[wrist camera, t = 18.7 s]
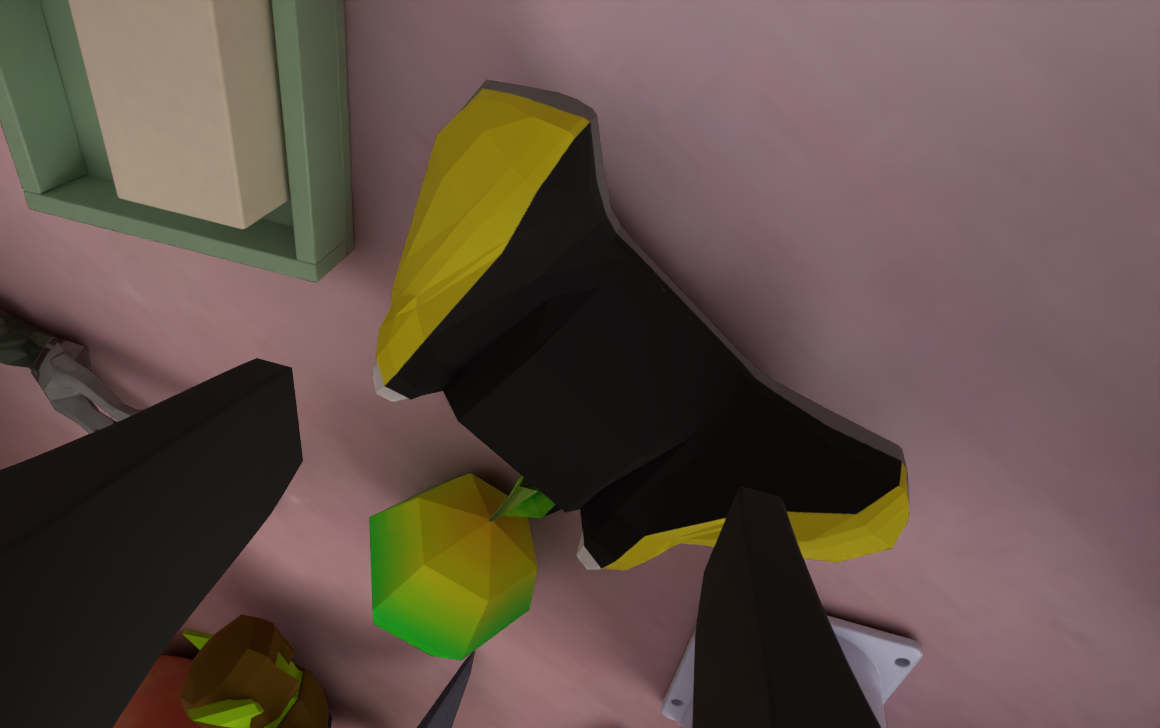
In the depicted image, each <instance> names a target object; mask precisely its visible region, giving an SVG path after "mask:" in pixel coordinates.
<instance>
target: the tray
mask: <svg viewBox="0 0 1160 728" xmlns="http://www.w3.org/2000/svg"><path fill="white" fill-rule="evenodd" d="M272 10H273V20H274V30H275V41H276V51H277V62H278V72H279V82H280V93H281V103H282V113H283V124H284V134H285V144H286V155H287V165H288V175H289V186H290V196H291V199H289V200H288V201H286V202H285V203H283V204H282V205H280V206H279V207H277V208H276V209H274V210H273V211H271V212H270V213H268V214H267V215H265V216H264V217H262V218H261V219H259V220H258V221H256V222H255V223H253V224H252V225H250V226H249V227H247V228H245V229H239V228H235V227H231V226H227V225H223V224H219V223H215V222H211V221H208V220H204V219H200V218H196V217H192V216H188V215H184V214H180V213H176V212H172V211H168V210H164V209H160V208H156V207H152V206H148V205H144V204H140V203H136V202H132V201H128V200H124V199H120V198H119V197H118V196H117V192H116V188H115V184H114V180H113V176H112V172H111V168H110V164H109V160H108V156H107V152H106V149H105V145H104V141H103V137H102V133H101V129H100V125H99V121H98V117H97V113H96V109H95V105H94V101H93V97H92V93H91V89H90V85H89V82H88V78H87V74H86V70H85V66H84V62H83V58H82V54H81V50H80V46H79V42H78V38H77V34H76V30H75V26H74V22H73V18H72V14H71V11H70V7H69V3H68V0H0V123H1V126H2V129H3V131H4V134H5V137H6V140H7V143H8V146H9V149H10V152H11V155H12V158H13V161H14V164H15V167H16V170H17V173H18V176H19V179H20V182H21V185H22V188H23V189H24V190H25V191H24V195H25V197H26V200H27V203H28V206H29V208H30V209H31V210H35V211H39V212H43V213H47V214H51V215H55V216H59V217H62V218H66V219H70V220H74V221H78V222H82V223H86V224H90V225H94V226H98V227H101V228H105V229H109V230H113V231H117V232H121V233H125V234H129V235H133V236H136V237H140V238H144V239H148V240H152V241H156V242H160V243H164V244H168V245H171V246H175V247H179V248H183V249H187V250H191V251H195V252H199V253H203V254H206V255H210V256H214V257H218V258H222V259H226V260H230V261H234V262H238V263H242V264H245V265H249V266H253V267H257V268H261V269H265V270H269V271H273V272H277V273H280V274H284V275H288V276H292V277H296V278H300V279H304V280H308V281H312V282H318V281H319V280H320V279H322V278H323V277H324V276H325V275H326V274H327V273H328V272H329V271H331V270H332V269H333V268H334V267H335V266H336V265H337V264H338V263H340V262H341V261H342V260H343V259H344V258H345V257H346V256H347V255H349V254H350V253H351V252H352V251H353V250H354V234H353V210H352V185H351V161H350V137H349V112H348V88H347V63H346V39H345V14H344V0H272Z"/></svg>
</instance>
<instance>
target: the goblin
mask: <svg viewBox="0 0 1160 728" xmlns="http://www.w3.org/2000/svg"><path fill="white" fill-rule="evenodd" d="M182 634H183V635H184V636H185V637H186V638H187V639H188V640H189V641H190V642H192V643H193V644H194V645H195V646H196V647H197V648H198V649H199V650H200V651H199V653H198V654H197V655H196V657H195V658H194V659H193V661H192V663H191V666H190V669H189V672H188V675H187V678H186V681H185V684H184V687H183V690H182V693H181V696H180V698H181V701H182V704H183V707H184V711H185V714H186V716H187V717H188V718H190V719H191V720H192V721H194V722H195V723H197V724H198V725H200V726H201V727H204V728H331V720H332V717H331V714H330V713H329V708H328V704H327V701H326V697H325V694H324V691H323V690H322V688H321V687H320V685H319V684H318V683H317V681H316V680H315V678H314V677H313V675H312V674H311V673H310V671H308V670H307V669H305V668H303V667H301V666H299V665H297V664H295V663H293V662H292V661H291V660H292V657H293V655H294V648H293V647H292V646H291V645H290V644H289V643H288V641H287V640H286V639H285V638H284V637H283V636H282V635H281V634H280V632H279V631H278V629H277V628H276V626H275V625H274V624H273V623H272V622H269V621H266V620H263V619H261V618H257V617H251V616H246V615H240V616H239V617H238V618H236V619H235V620H233V621H232V622H231V623H229V624H228V625H227V626H225V627H224V628H222V629H221V630H220V631H218V632H217V633H216V634H209V633H204V632H199V631H194V630H189V629H185V630H184V631H183V633H182ZM474 653H475V651H473V652H472V654H471V655H470V656H469V657H468V658H467V659H466V660H465V661H464V663H463V664H462V665H461V667H460V668H459V670H458V671H457V672H456V674H455V675H454V677H453V678H452V679H451V681H450V682H449V684H448V685H447V686H446V688H445V689H444V691H443V692H442V693H441V695H440V696H439V698H438V699H437V700H436V702H435V703H434V705H433V706H432V707H431V709H430V710H429V711H428V713H427V714H426V716H425V717H424V718H423V720H422V721H421V723H420V724H419V725H418V727H417V728H452V725H453V722H454V719H455V716H456V713H457V711H458V708H459V705H460V702H461V699H462V696H463V693H464V690H465V687H466V684H467V681H468V679H469V676H470V673H471V668H472V663H473V658H474Z"/></svg>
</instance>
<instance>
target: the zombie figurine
mask: <svg viewBox="0 0 1160 728" xmlns="http://www.w3.org/2000/svg"><path fill="white" fill-rule="evenodd" d="M0 362H1V363H3V364H6V365H12V366H20V367H27V368H30V369H31V370H32V371H31V373H32V375H33V376H34V378H35V379H36V381H37V382H38V384H39V385H40V387H41V388H42V390H43V391H44V393H45V395H46V396H47V398H48V399H49V401H50V403H51V404H52V406H53V407H54V409H55V410H56V411H57V412H59V413H61V414H62V415H64V416H66V417H67V418H69V419H71V420H72V421H74V422H76V423H77V424H79V425H80V426H81V427H83V428H84V429H85V430H86V431H87V432H88V433H89V434H91V433H93V432H95V431H98V430H100V429H103V428H105V427H107V426H110V425H112V424H114V423H117V422H116V421H114V420H113V419H111V418H109V417H108V416H106V415H105V414H103V413H102V412H100V411H99V410H98V408H97V407H96V406H95V404H96V405H98V406H99V407H100V408H101V409H103V410H104V411H105V412H107V413H108V414H109V415H111V416H112V417H113V418H114V419H116V420H117V421H118V422H119V421H121V420H123V419H125V418H127V417H130V416H132V415H134V414H136V413H138V412H140V411H143V410H136V409H134V408H132V407H130V406H128V405H126V404H125V403H124V402H122V401H121V400H120V399H119V398H118V397H117V396H116V395H115V394H114V393H113V392H112V391H111V390H110V389H109V388H108V387H107V386H106V385H105V384H104V383H103V382H102V381H101V380H100V379H99V378H98V377H97V376H96V375H95V374H94V373H93V372H91V371H90V370H91V363H90V358H89V352H88V350H87V349H86V347H85V346H82V345H79V344H76V343H72V342H69V341H66V340H62V339H59V338H56V337H54V336H52V335H50V334H48V333H46V332H43V331H41V330H39V329H37V328H35V327H34V326H32V325H30V324H28V323H26V322H24V321H22V320H20V319H19V318H17V317H15V316H12V315H10V314H8V313H6V312H4V311H1V310H0ZM93 402H94V403H95V404H94V403H93Z"/></svg>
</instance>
